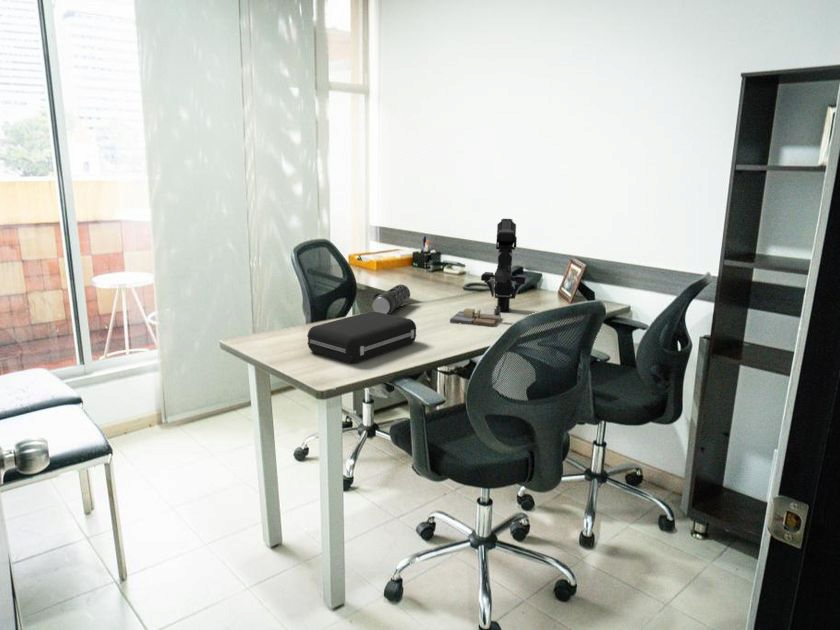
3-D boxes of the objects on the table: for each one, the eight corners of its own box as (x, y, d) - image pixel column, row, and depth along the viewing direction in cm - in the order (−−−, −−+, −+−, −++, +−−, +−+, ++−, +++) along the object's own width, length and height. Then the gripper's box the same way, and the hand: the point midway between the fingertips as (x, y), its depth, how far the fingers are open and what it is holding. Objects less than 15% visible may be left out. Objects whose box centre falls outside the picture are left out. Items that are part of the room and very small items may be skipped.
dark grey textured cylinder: (410, 305, 300) (410, 284, 297) (391, 319, 274) (391, 296, 271) (392, 304, 302) (392, 283, 300) (370, 318, 276) (370, 295, 274)
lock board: (459, 314, 283) (459, 311, 282) (500, 318, 277) (500, 315, 276) (449, 322, 269) (449, 319, 269) (492, 326, 263) (493, 323, 263)
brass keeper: (465, 315, 276) (466, 308, 275) (480, 316, 274) (480, 309, 273) (463, 317, 272) (463, 310, 272) (478, 318, 270) (478, 311, 269)
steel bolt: (481, 316, 273) (482, 304, 271) (500, 318, 270) (500, 306, 269) (480, 317, 271) (480, 306, 269) (499, 319, 268) (499, 307, 267)
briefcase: (361, 329, 259) (361, 305, 257) (420, 343, 240) (420, 318, 237) (293, 349, 232) (291, 323, 230) (353, 367, 213) (352, 339, 210)
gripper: (478, 263, 256) (476, 300, 260) (522, 266, 250) (521, 304, 254) (485, 258, 266) (484, 294, 270) (528, 261, 260) (526, 298, 264)
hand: (503, 297), depth 264 cm, fingers open, 9 cm apart
